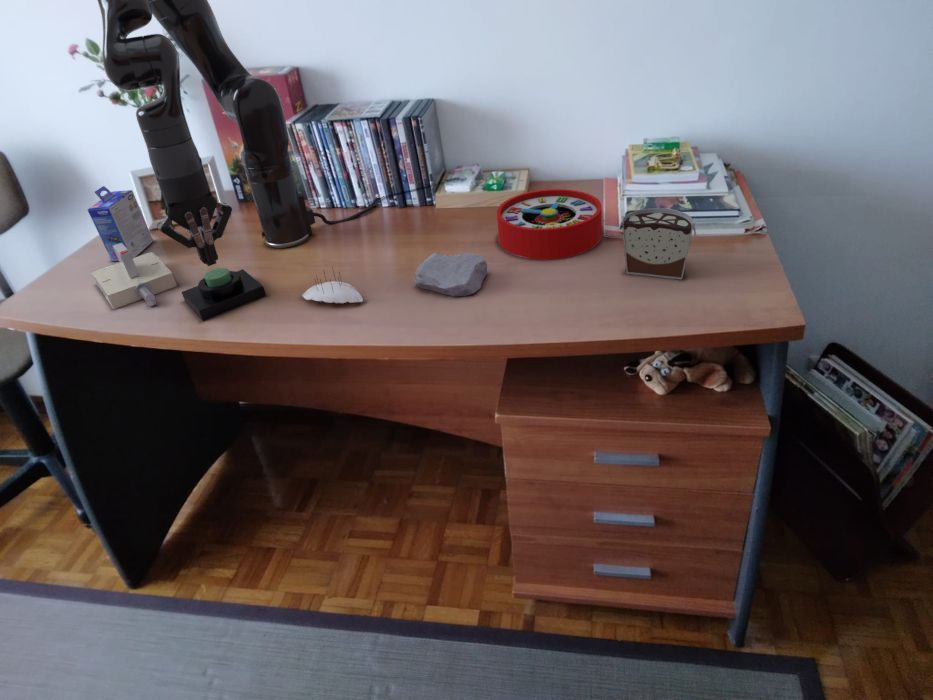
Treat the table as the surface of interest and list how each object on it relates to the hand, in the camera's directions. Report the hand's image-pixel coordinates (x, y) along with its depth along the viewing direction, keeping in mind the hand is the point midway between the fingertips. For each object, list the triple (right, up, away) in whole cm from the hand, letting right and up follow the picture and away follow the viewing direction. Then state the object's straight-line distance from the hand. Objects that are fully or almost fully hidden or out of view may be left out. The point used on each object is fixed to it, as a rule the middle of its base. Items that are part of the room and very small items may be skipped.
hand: (210, 263), depth 120 cm
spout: (-14, -6, +6) cm, 16 cm away
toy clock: (+62, +7, +12) cm, 64 cm away
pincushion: (+22, -7, -1) cm, 23 cm away
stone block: (+43, -4, 0) cm, 43 cm away
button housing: (+1, -6, +4) cm, 7 cm away
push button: (+1, -3, +2) cm, 4 cm away
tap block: (-20, -3, +13) cm, 24 cm away
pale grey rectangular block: (-20, 0, +11) cm, 23 cm away
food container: (+79, -1, -3) cm, 79 cm away
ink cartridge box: (-28, +6, +28) cm, 40 cm away
